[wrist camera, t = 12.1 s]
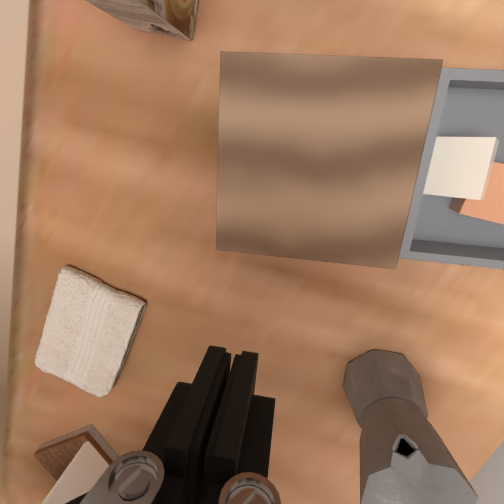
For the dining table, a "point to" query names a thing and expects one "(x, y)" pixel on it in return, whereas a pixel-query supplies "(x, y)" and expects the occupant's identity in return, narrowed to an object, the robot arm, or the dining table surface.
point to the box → (437, 207)
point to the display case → (75, 463)
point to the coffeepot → (399, 436)
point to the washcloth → (88, 331)
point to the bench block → (320, 154)
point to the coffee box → (154, 15)
